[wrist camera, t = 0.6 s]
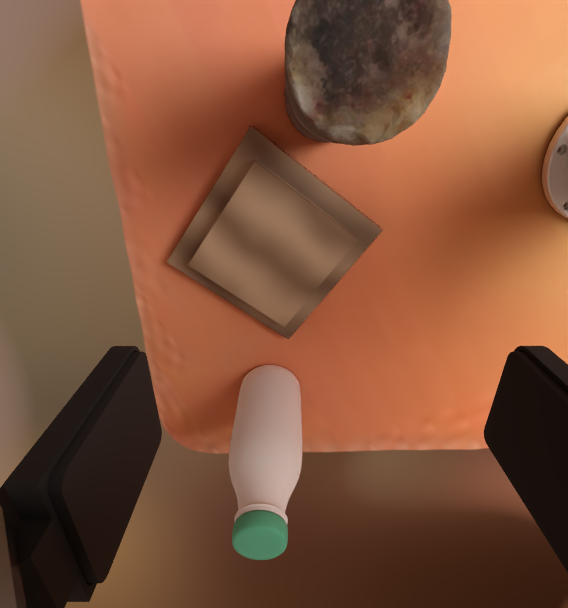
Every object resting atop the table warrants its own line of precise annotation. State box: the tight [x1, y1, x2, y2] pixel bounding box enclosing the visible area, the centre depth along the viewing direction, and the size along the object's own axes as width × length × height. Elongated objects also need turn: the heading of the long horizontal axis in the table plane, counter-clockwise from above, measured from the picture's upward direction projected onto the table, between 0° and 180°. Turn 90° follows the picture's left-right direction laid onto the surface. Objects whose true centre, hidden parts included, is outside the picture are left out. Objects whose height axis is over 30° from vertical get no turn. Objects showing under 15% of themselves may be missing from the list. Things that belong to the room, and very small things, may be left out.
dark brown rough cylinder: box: [284, 0, 451, 145], centre depth 24 cm, size 8×7×20 cm
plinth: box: [167, 126, 383, 339], centre depth 37 cm, size 16×16×4 cm
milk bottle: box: [229, 365, 302, 560], centre depth 38 cm, size 8×8×20 cm
